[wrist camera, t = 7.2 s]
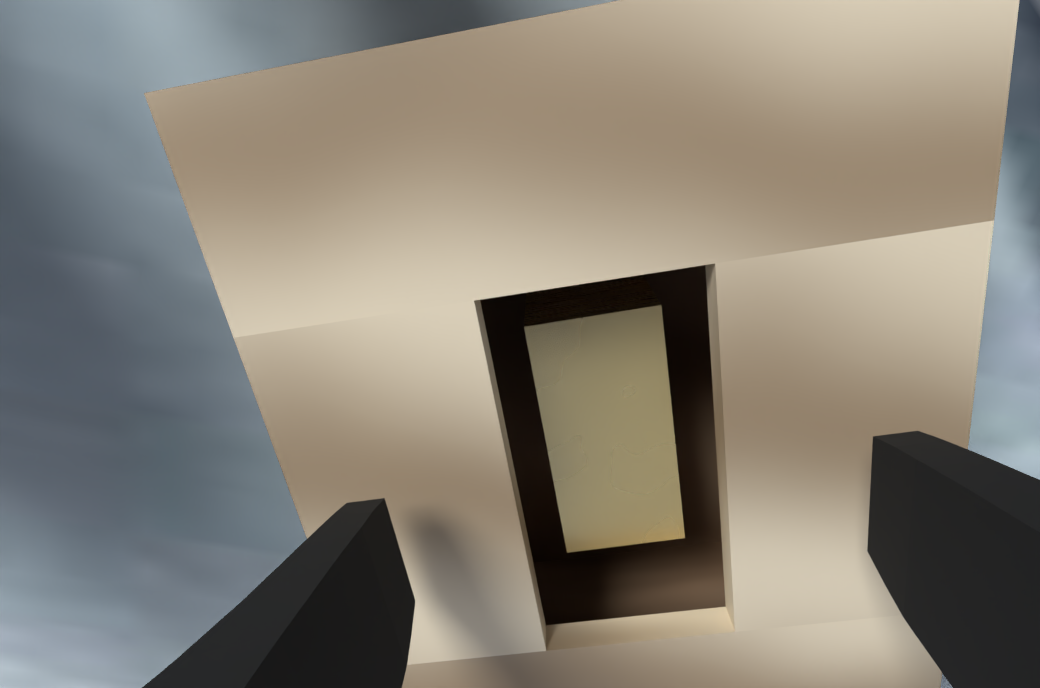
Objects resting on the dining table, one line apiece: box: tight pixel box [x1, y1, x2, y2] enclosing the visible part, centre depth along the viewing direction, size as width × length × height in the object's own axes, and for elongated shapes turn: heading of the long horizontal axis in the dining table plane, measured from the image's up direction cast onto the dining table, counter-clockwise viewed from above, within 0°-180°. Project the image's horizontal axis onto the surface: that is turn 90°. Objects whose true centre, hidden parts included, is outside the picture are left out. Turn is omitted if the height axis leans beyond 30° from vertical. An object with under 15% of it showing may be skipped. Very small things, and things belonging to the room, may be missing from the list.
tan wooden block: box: [524, 275, 685, 553], centre depth 13 cm, size 5×2×4 cm, turn 10°
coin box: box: [144, 0, 1019, 688], centre depth 13 cm, size 14×11×6 cm
